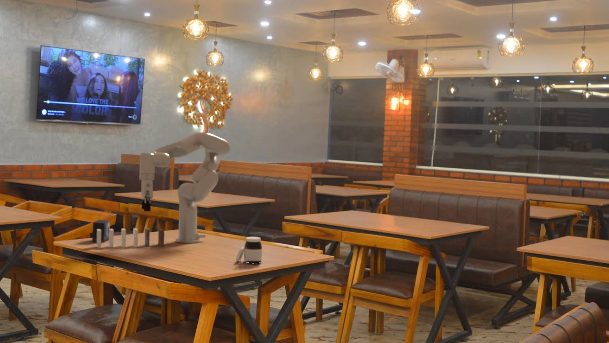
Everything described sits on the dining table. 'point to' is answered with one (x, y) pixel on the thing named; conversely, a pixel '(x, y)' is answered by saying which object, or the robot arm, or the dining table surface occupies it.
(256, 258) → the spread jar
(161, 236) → the block
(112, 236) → the domino
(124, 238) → the domino
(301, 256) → the dining table surface
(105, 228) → the small box
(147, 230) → the end domino
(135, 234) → the domino
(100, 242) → the domino
